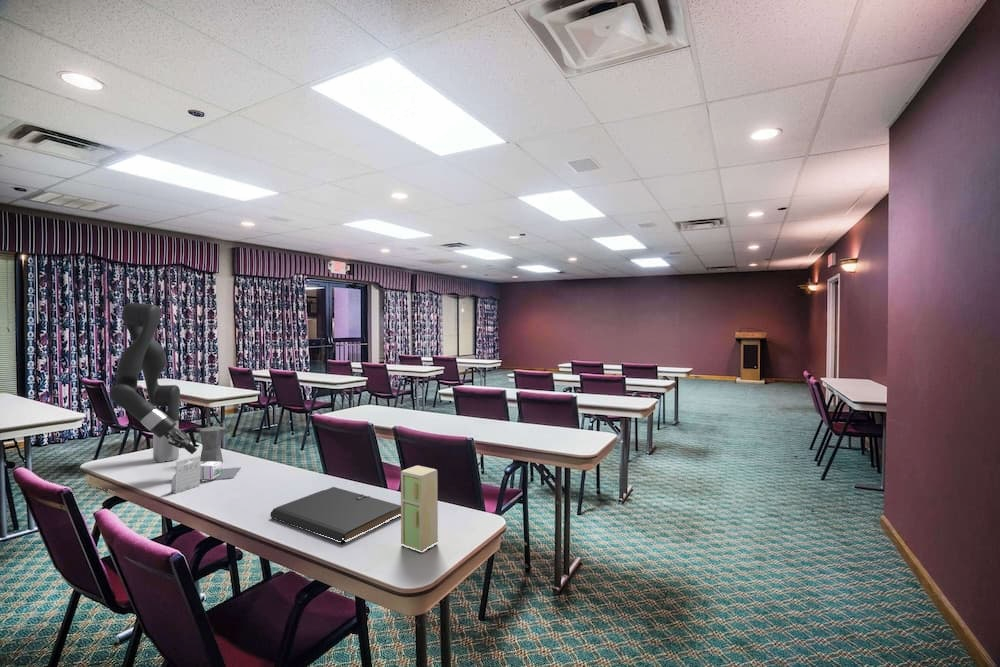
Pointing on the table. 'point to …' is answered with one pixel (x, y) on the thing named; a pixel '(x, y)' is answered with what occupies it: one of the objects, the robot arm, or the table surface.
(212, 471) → the syrup box
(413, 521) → the toy refrigerator
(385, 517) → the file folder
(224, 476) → the mat
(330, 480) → the table surface
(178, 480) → the ink box
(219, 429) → the coffeepot
